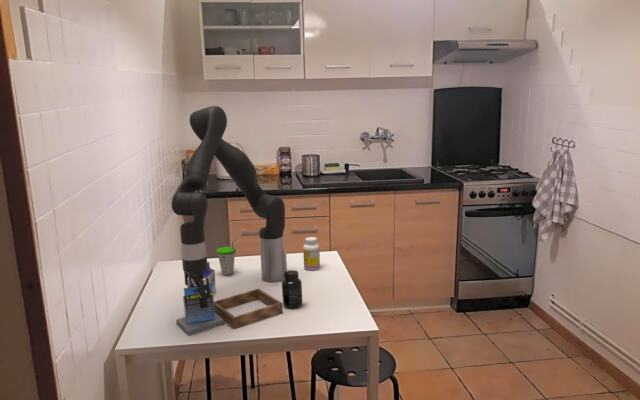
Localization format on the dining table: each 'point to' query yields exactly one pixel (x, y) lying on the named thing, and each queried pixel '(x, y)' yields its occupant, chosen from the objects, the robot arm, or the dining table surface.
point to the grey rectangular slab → (199, 325)
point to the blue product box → (197, 306)
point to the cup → (227, 259)
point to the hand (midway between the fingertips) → (198, 303)
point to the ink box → (210, 276)
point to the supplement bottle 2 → (311, 254)
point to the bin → (250, 317)
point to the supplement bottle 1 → (292, 290)
